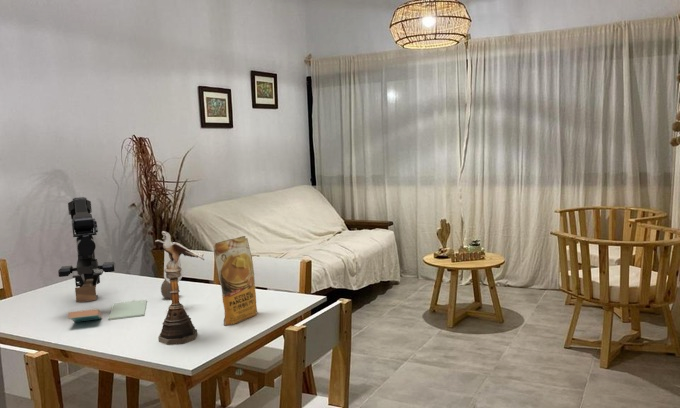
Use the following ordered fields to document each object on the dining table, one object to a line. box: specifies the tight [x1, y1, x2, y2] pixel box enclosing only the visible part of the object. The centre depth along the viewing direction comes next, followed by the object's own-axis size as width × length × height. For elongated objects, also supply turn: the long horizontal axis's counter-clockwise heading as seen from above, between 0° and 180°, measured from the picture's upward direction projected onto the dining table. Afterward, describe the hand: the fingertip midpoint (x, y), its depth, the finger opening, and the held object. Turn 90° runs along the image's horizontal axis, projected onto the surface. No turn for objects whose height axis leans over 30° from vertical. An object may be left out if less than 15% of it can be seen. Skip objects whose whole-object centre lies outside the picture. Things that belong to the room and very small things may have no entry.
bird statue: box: [154, 230, 205, 346], centre depth 176 cm, size 17×13×35 cm
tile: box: [68, 308, 103, 323], centre depth 193 cm, size 2×9×10 cm
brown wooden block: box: [74, 279, 98, 303], centre depth 202 cm, size 13×6×5 cm, turn 17°
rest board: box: [108, 299, 148, 321], centre depth 208 cm, size 20×12×1 cm, turn 17°
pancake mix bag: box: [213, 235, 258, 326], centre depth 191 cm, size 7×19×28 cm, turn 146°
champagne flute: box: [163, 249, 186, 313], centre depth 205 cm, size 7×7×24 cm
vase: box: [160, 278, 180, 300], centre depth 222 cm, size 7×7×9 cm
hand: (89, 291), depth 205 cm, fingers closed on brown wooden block, 3 cm apart
